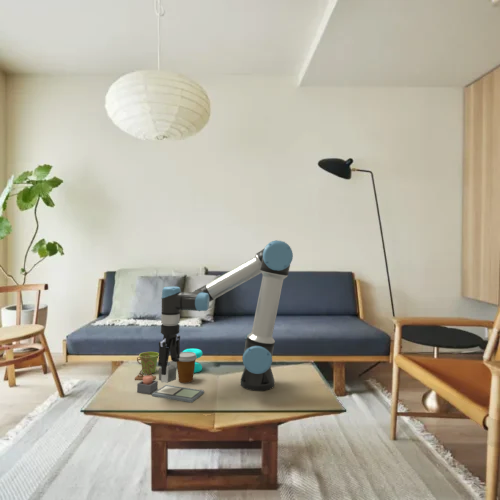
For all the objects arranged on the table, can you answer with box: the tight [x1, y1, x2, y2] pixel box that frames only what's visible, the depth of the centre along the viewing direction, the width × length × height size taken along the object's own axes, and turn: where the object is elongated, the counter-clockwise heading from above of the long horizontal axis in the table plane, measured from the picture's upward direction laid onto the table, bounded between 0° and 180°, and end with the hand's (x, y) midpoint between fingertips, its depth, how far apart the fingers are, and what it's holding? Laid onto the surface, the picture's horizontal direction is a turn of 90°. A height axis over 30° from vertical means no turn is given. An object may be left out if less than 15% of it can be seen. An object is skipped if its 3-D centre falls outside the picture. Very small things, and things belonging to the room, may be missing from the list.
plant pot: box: [138, 351, 159, 375], centre depth 189 cm, size 9×9×9 cm
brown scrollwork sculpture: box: [134, 352, 157, 381], centre depth 179 cm, size 9×4×12 cm, turn 88°
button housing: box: [136, 380, 159, 395], centre depth 165 cm, size 6×6×4 cm
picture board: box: [151, 384, 205, 403], centre depth 161 cm, size 18×11×1 cm, turn 71°
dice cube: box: [158, 364, 177, 383], centre depth 163 cm, size 5×5×5 cm
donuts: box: [182, 347, 204, 374], centre depth 193 cm, size 10×10×10 cm
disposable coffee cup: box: [176, 351, 198, 384], centre depth 178 cm, size 10×10×12 cm
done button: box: [143, 375, 154, 385], centre depth 165 cm, size 4×4×4 cm
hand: (168, 379), depth 163 cm, fingers closed on dice cube, 6 cm apart
